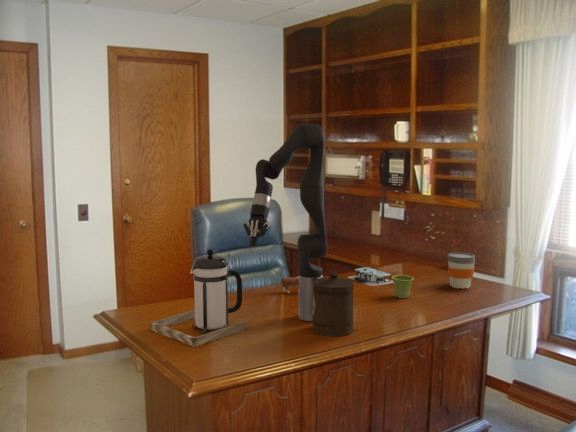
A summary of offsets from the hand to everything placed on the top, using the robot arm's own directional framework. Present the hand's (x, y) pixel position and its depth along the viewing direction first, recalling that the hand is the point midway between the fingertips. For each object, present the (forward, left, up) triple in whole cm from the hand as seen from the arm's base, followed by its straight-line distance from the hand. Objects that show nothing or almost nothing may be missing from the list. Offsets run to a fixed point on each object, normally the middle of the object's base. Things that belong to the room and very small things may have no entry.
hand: (252, 246), depth 237 cm
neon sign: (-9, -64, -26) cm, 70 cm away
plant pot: (-38, -55, -26) cm, 72 cm away
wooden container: (-42, 0, -26) cm, 49 cm away
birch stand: (-5, +33, -26) cm, 42 cm away
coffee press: (-8, +28, -26) cm, 39 cm away
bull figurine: (+1, -28, -26) cm, 38 cm away
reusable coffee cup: (-49, -89, -26) cm, 105 cm away
